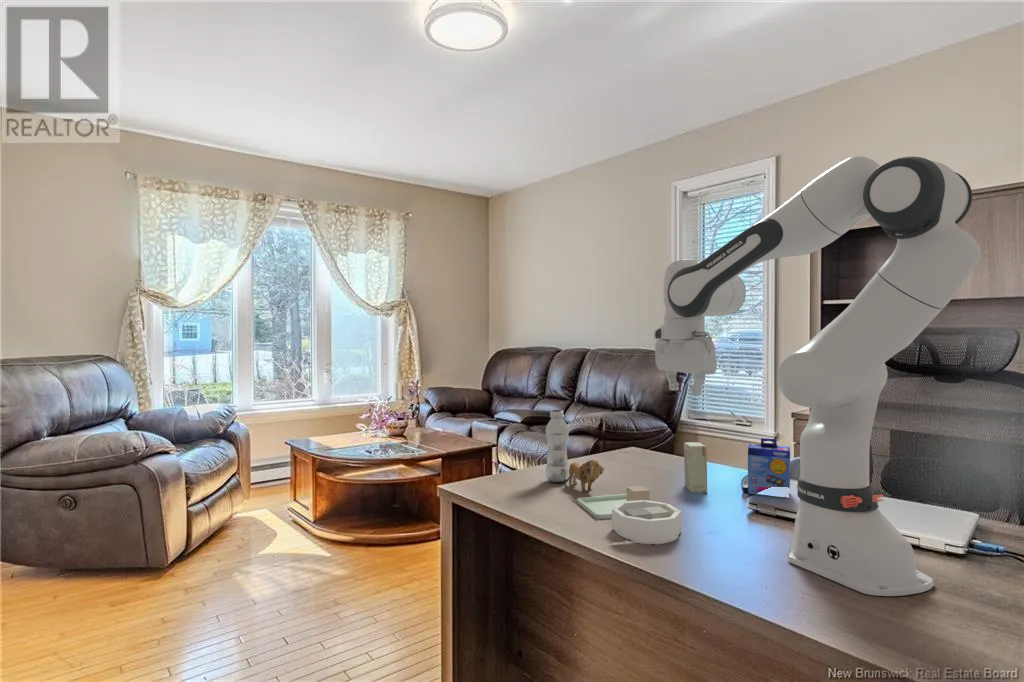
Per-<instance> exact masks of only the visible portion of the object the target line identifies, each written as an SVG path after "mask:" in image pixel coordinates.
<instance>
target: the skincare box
mask: <svg viewBox="0 0 1024 682" xmlns="http://www.w3.org/2000/svg"><path fill="white" fill-rule="evenodd" d="M683 446H684V447H683V451H684V452H683V453H684V454H683V456H684V461H683V462H684V467H683V469H684V487H685V488H686V489H687V490H688V491H689V492H691V493H699V494H708V460H707V459H708V457H707V453H708V452H707V450H708V449H707V446H706V445H705V444H703V443H701V442H694V441H693V442H691V441H689V442H684V443H683Z"/></svg>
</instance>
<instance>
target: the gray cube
mask: <svg viewBox="0 0 1024 682" xmlns="http://www.w3.org/2000/svg"><path fill="white" fill-rule="evenodd" d="M624 514H625V515H626V516H631V517H637V518H643V519H651V514H650V513H649V512H647V511H645V510H644V509H642V508H638V509H627V510H624Z"/></svg>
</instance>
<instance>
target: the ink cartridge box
mask: <svg viewBox="0 0 1024 682" xmlns="http://www.w3.org/2000/svg"><path fill="white" fill-rule="evenodd" d="M769 442H770V443H769ZM771 487H788V488H789V487H790V488H791V447H790V446H786V445H778V443H777V438H763V437H762V438H760V443H749V444H748V448H747V494H748V495H755V493H758V492H760V491H762V490H765V489H768V488H771Z"/></svg>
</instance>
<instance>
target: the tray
mask: <svg viewBox="0 0 1024 682" xmlns="http://www.w3.org/2000/svg"><path fill="white" fill-rule="evenodd" d="M626 501H627V493H622V494H621V493H620V494H609V495H599V496H587V497H576V503H577V504H578V505H580V507H582V508H583V509H584V510H585V511H587V512H588V513H589V514H590V515H591V516H593V517H594V518H595V519H597V520H602V519H603V520H604V519H612V508H614V507H615V506H616V505H618V504H619V503H620V502H626Z"/></svg>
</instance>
